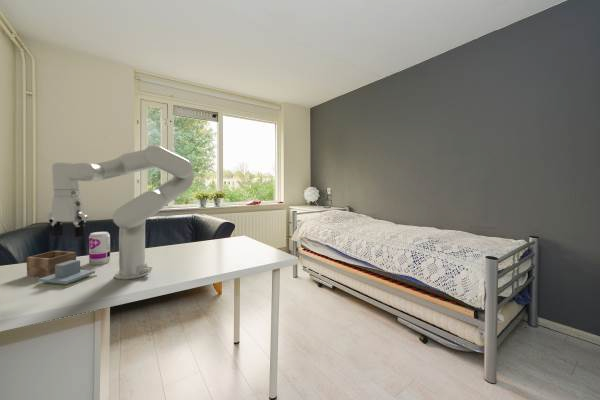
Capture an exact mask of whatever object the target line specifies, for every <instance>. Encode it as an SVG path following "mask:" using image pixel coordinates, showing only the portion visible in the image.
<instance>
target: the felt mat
mask: <svg viewBox="0 0 600 400" xmlns="http://www.w3.org/2000/svg"><path fill="white" fill-rule="evenodd" d="M95 277H97V274H91V275H88V276H87V277H85V278H82V279H79V280H77V281H74V282H71V283H69V284H59V283H48V282H39V283H35V286H40V287H52V288H62V289H67V288H70V287H72V286H74V285H77V284H80V283H83V282H85V281H87V280H91V279H93V278H95Z"/></svg>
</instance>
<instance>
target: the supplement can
mask: <svg viewBox="0 0 600 400" xmlns="http://www.w3.org/2000/svg"><path fill="white" fill-rule="evenodd" d="M88 259H89V264H90V265H91V266H92V265H93V266H99V265H105V264H107V263H109V262H110V261H111V234H110V233H109V232H108V231H95V232H91V233H90V234H89V236H88Z"/></svg>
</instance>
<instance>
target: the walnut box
mask: <svg viewBox="0 0 600 400" xmlns="http://www.w3.org/2000/svg"><path fill="white" fill-rule="evenodd" d="M70 260H77V251H64V250H63V251H62V250H52V251H48V252H44V253H38V254H35V255H32V256H31V255H30V256H26V276H27V277H34V278H43V277H46V276H49V275H52V274H55V265H57V264H60V263H64V262H67V261H70Z"/></svg>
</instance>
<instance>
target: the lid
mask: <svg viewBox="0 0 600 400" xmlns="http://www.w3.org/2000/svg"><path fill="white" fill-rule="evenodd" d="M95 273H96V270H90V269H81V260H79V259H76V260H70V261H67V262H64V263H60V264H57V265H55V274H52V275H49V276H46V277H39V278H38V282H39V283H41V282H48V283H59V284H69V283H71V282H74V281H77V280H79V279H82V278H85V277H87V276H88V275H95Z"/></svg>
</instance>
